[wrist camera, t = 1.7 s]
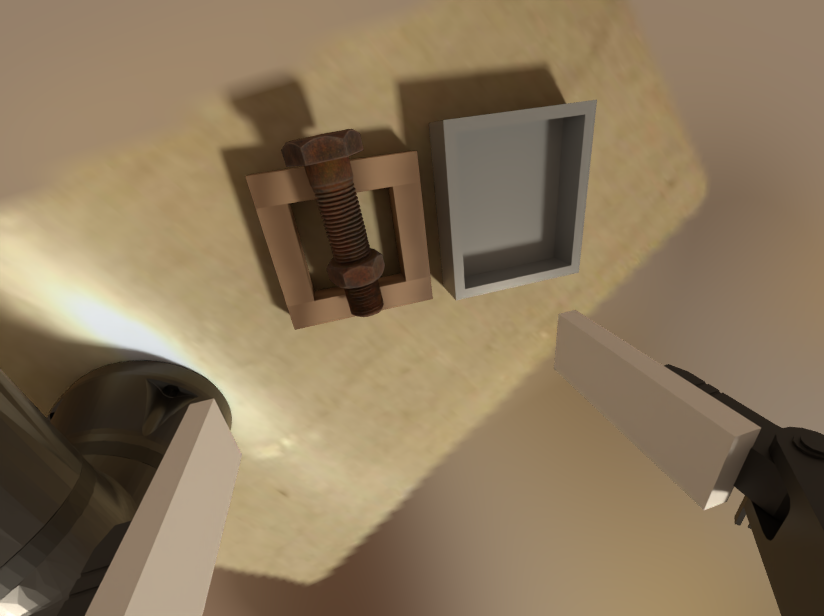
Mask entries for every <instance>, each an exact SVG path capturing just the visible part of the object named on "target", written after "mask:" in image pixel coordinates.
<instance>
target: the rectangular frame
mask: <svg viewBox="0 0 824 616" xmlns="http://www.w3.org/2000/svg"><path fill="white" fill-rule="evenodd" d="M350 164H351V168H352V172H353V180H354V181H353V183H354V188H356V191H355V192H362V191H368V190H374V189H380V188H386V187H388V190H389V197H390V203H391V210H392V217H393V224H394V231H395V237H396V244H397V251H398V258H399V265H400V271H401V273H400V274H395V275H390V276H386V277H381V278H379V279H378V282H379V286H380V289H381V293H382V294H381V295H382V298H383V301H384V302H383V303H384V305H383V308H382V310H385V309H389V308H394V307H398V306H403V305H407V304H412V303H416V302H421V301H425V300H430V299H433V297H432V287H431V278H430V268H429V259H428V249H427V240H426V230H425V221H424V211H423V202H422V193H421V183H420V174H419V164H418V155H417V151H405V152H398V153H391V154H385V155H378V156H371V157H364V158H357V159H350ZM245 177H246V180H247V184H248V187H249V190H250V193H251V196H252V199H253V202H254V205H255V208H256V211H257V214H258V218H259V221H260V224H261V227H262V230H263V233H264V236H265V239H266V242H267V245H268V248H269V252H270V255H271V258H272V261H273V264H274V267H275V270H276V273H277V276H278V279H279V282H280V286H281V289H282V292H283V295H284V298H285V301H286V304H287V307H288V310H289V313H290V316H291V320H292V323H293V326H294V329H295V330H296V329H300V328H305V327H309V326H314V325H318V324H322V323H327V322H331V321H336V320H340V319H345V318H349V317H354V316H355V315H352V314H351V311H350V307H349V304H348V301H347V298H346V295H345V291H344V288H340V287H338V286H337V287H333V288H328V289H323V290H318V291H314V287H313V284H312V280H311V277H310V273H309V269H308V266H307V262H306V259H305V255H304V251H303V248H302V244H301V240H300V237H299V233H298V230H297V226H296V222H295V219H294V215H293V212H292V208H291V204H290V203H295V202H301V201H307V200H313V199H317V197H315V196H314V195H315V194H316V193H314V192H313V189H312V187H311V186H310V183H309V180H308V177H307V174H306V171H305V168H304V166H303V167H296V168H289V169H282V170H275V171H268V172H262V173H255V174H250V175H247V176H245Z"/></svg>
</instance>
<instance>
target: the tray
mask: <svg viewBox="0 0 824 616" xmlns="http://www.w3.org/2000/svg"><path fill="white" fill-rule="evenodd" d="M596 103H597V100H591V101H584V102H576V103H569V104H561V105H554V106H546V107H539V108H531V109H524V110H516V111H509V112H501V113H494V114H486V115H479V116H471V117H464V118H456V119H449V120H442V121H437V122H432V123H429V132H430V143H431V155H432V166H433V177H434V188H435V200H436V211H437V222H438V234H439V245H440V256H441V267H442V279H443V287H444V288H445V289H446V290H447V291H448V292H449V293H450V294H451V295H452V296H453V298H454V299H455V300H460V299H464V298H469V297H473V296H477V295H482V294H486V293H491V292H495V291H499V290H504V289H508V288H513V287H517V286H521V285H526V284H530V283H535V282H539V281H543V280H548V279H552V278H557V277H561V276H565V275H570V274H574V273H579V265H580V255H581V246H582V236H583V227H584V217H585V208H586V198H587V189H588V179H589V170H590V160H591V151H592V141H593V132H594V122H595V113H596Z"/></svg>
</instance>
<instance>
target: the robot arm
mask: <svg viewBox="0 0 824 616" xmlns="http://www.w3.org/2000/svg"><path fill="white" fill-rule="evenodd" d="M554 369H555V370H556V371H557V372H558V373H559V374H560V375H561V376H562V377H563V378H564V379H565V380H566V381H567V382H568V383H570V384H571V385H572V386H573V387H574V388H575V389H576V390H577V391H578V392H579V393H580V394H581V395H582V396H584V398H585V399H586V400H588V401H589V402H590V403H591V404H592V405H593V406H594V407H595V408H596V409H597V410H598V411H599V412H600V413H601V414H602V415H603V416H605V417H606V418H607V419H608V420H609V421H610V422H611V423H612V424H613V425H614V426H615V427H616V428H617V429H618V430H619V431H620V432H622V433H623V434H624V435H625V436H626V437H627V438H628V439H629V440H630V441H631V442H632V443H633V444H634V445H635V446H636V447H637V448H638V449H640V450H641V451H642V452H643V453H644V454H645V455H646V456H647V457H648V458H649V459H650V460H651V461H652V462H654V464H656V466H658V467H659V468H660V469H661V470H662V471H663V472H664V473H665V474H666V475H667V476H668V477H669V478H670V479H672V481H673V482H675V483H676V484H677V485H678V486H679V487H680V488H681V489H682V490H683V491H684V492H685V493H686V494H687V495H688V496H689V497H690V498H692V499H693V500H694V501H695V502H696V503H697V504H698V505H699V506H700V507H701V508H702V509H703V510H705V509H708V508H711V507H713V506H716V505H719V504H721V503H724V502H727V500H728V498H729V496H730V494H731V492H732V490H733V488H734V486H735V487H736V488H737V489H738V490H739V491H741V492H742V493H743V494H744V495H745V497H744V499H743V501H742V503H741V505H740V507H739V509H738V511H737V513H736V515H735V524H737V525H741V523H742V521H743V519H744V517H745V515H747V518H748V520H749V525H748V528H750V529H752V532H753V535H754V538H755V541H756V544H757V547H758V549H759V552H760V555H761V558H762V561H763V564H764V567H765V570H766V572H767V575H768V578H769V581H770V584H771V587H772V590H773V592H774V596H775V599H776V601H777V604H778V607H779V610H780V613H781V616H824V435H823V434H821V433H818V432H815V431H812V430H808V429H804V428H796V427H787V428H781V427H779V426H777V425H775V424H773V423H772V422H770V421H769V420H767V419H765V418H764V417H762V416H760V415H759V414H757V413H756V412H754V411H752V410H750V409H749V408H747V407H746V406H744V405H742V404H741V403H739V402H737V401H736V400H734V399H733V398H731V397H729V396H728V395H726V394H724V393H720V392H719V390H718V389H716V388H714V387H713V386H711V385H709V384H706V383H705V382H704V381H703V380H701V379H699V378H698V377H696V376H694V375H693V374H691V373H689V372H688V371H685V370H682V369H680V368H677V367H675V366H672V365H669V364H668V365H665V366H663V365H661V364H660V363H658V362H657V361H655V360H654V359H652V358H651V357H649V356H647V355H646V354H644V353H643V352H641V351H639V350H638V349H636V348H635V347H633V346H631V345H630V344H628V343H627V342H625V341H624V340H622V339H621V338H619V337H617V336H616V335H614V334H613V333H611V332H610V331H608V330H606V329H605V328H603V327H602V326H600V325H598V324H597V323H595V322H594V321H592V320H591V319H589V318H587V317H586V316H584V315H583V314H581V313H580V312H578V311H576V310H573V311H569V312H565V313H561V314H559V315H558V327H557V339H556V351H555V365H554ZM231 424H232V416H231V411H230V408H229V405H228V403H227V401H226V399H225V397H224V396H223V394H222V393H221V392H220V391H219V390H218V389H217V388H216V387H215V386H214V385H213V384H212V383H211V382H209V381H208V380H207V379H205V378H204V377H202V376H200V375H199V374H197V373H195V372H193V371H191V370H188V369H186V368H183V367H180V366H177V365H173V364H169V363H164V362H157V361H126V362H119V363H114V364H110V365H107V366H103V367H101V368H98V369H96V370H94V371H91V372H90V373H88V374H86V375H84V376H83V377H81V378H80V379H79V380H78V381H76V382H75V383H74V384H73V385H72V386H71V387H70V388H69V389H68V390H67V391H66V392H65V393H64V394H63V395H62V396H61V397H60V398H59V399H58V400H57V401H56V403H55V404H54V406H53V407H52V409H51V410H50V412H49V414H48V417H47V418H46V417H45V416H44V415H43V414H42V413H41V412H40V411H39V410H38V408H37V407H36V406H35V405H34V404H33V403H32V402H31V401H30V400H29V399H28V398H27V397H26V396H25V394H24V393H23V392H22V391H21V390H20V389H19V388H18V387H17V386H16V385H15V384H14V383H13V382H12V380H11V379H10V378H9V377H8V376H7V375H6V374H5V373H4V372H3V371H2V370H1V369H0V616H202V615H203V611H204V606H205V602H206V598H207V594H208V590H209V586H210V582H211V578H212V574H213V570H214V566H215V562H216V558H217V554H218V550H219V546H220V542H221V538H222V534H223V530H224V525H225V521H226V517H227V513H228V509H229V505H230V501H231V497H232V493H233V489H234V485H235V481H236V477H237V473H238V469H239V465H240V461H241V457H242V453H241V451H240V449H239V447H238V445H237V443H236V441H235V439H234V437H233V435H232V433H231V431H230V430H231Z"/></svg>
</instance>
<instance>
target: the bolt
mask: <svg viewBox="0 0 824 616" xmlns="http://www.w3.org/2000/svg"><path fill="white" fill-rule="evenodd" d="M362 150H364V149H363V145H362V140H361V136H360V133H358V132H357V131H355V130H353V129H346V130H342V131H336V132H331V133H325V134H320V135H316V136H312V137H307V138H302V139H298V140H293V141H289V142H286V143H285V145H284V146H283V148H282V149H281V151H282V154H283V157H284V160H285V163H286V166H287V167H290V166H304V168H305V171H306V174H307V177H308V180H309V183H310V186H311V187H312V189H313V192H314V193H316V194H315V195H314V196H315V197H317V199H316V201H317V202H318V203H317V205H318V206H320V207H319V210H321V212H320V214H322V219H323V222H324V226H325V227H326V228H325V230H326V231H327V232H326V233H327V235H328V236H327V237H328V238H329V242H330V246H332V247H331V250H333V251H332V253H333V254H334V255H333V257H334V258H333V259H332V260H331V261H330V262H329V264H328V267H327V272H328V275H329V278H330V281H331V282H333V283H334V284H335V285H337V286H338V287H340V288H344V291H345V295H346V298H347V301H348V304H349V307H350V311H351V314H352V315H355V316H359V317H368V316H371V315H374V314H377V313H379V312H380V311H381V310H382V308H383V305H384V303H383V302H384V301H383V298H382V295H381V294H382V293H381V289H380V286H379V282H378V279H379V278H380V276H381V275H382V273H383V271H384V267H385V264H384V260H383V255H382V254H381V253H379V252H378V251H376V250H375V249H371V248H370V245H369V244H368V243H369V242H368V238H367V233H366V229H365V225H364V221H362V220H363V217H361V216H362V214H361V213H360V212H361V209H359V208H360V205H358V204H359V201H358V200H357V199H358V197H357V196H356V195H357V193H356V192H355V191H356V188H354V183H353V181H354V180H353V172H352V168H351V164H350V160H349V156H351V155H353V154H355V153H358V152H360V151H362Z"/></svg>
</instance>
